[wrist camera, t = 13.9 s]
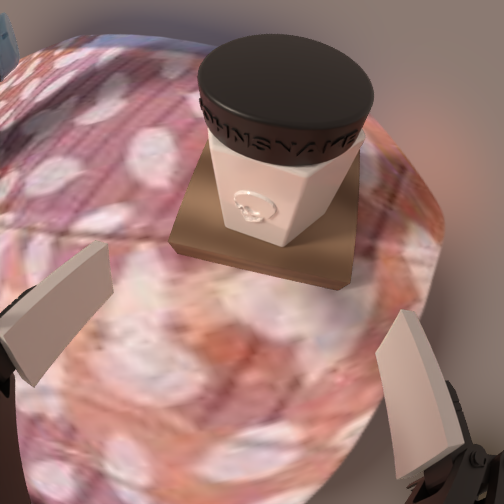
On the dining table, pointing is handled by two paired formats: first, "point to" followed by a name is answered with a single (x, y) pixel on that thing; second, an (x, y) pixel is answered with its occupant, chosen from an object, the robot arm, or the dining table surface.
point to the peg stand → (264, 253)
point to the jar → (281, 130)
